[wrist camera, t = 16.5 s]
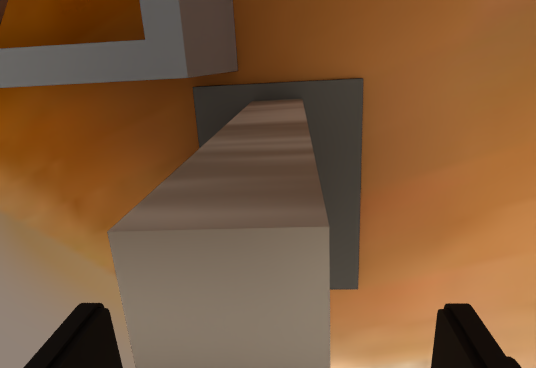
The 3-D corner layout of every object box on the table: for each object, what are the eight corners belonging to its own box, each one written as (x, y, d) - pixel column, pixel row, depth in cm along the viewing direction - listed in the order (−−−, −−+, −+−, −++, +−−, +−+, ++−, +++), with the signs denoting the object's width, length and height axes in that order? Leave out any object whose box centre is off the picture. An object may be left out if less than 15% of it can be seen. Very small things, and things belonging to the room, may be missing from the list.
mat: (195, 86, 23) (192, 87, 22) (361, 78, 22) (363, 78, 21) (216, 285, 27) (215, 290, 26) (356, 284, 26) (358, 289, 26)
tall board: (251, 101, 22) (107, 232, 5) (302, 98, 22) (328, 226, 5) (263, 277, 26) (203, 695, 9) (307, 276, 26) (332, 706, 8)
